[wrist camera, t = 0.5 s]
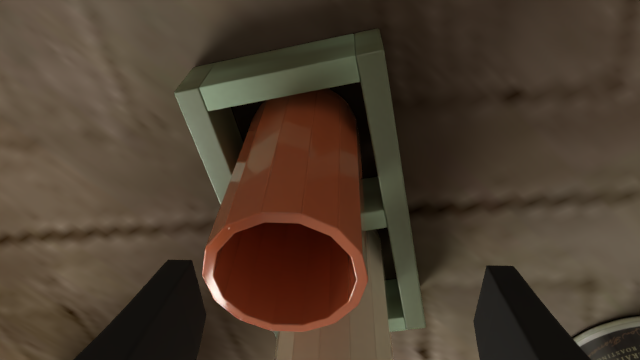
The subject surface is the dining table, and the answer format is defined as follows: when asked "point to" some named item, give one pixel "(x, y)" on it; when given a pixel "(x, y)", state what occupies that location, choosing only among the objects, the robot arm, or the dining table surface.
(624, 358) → the coffee can
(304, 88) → the frame
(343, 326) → the cream tumbler
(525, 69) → the dining table surface
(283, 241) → the terracotta tumbler
